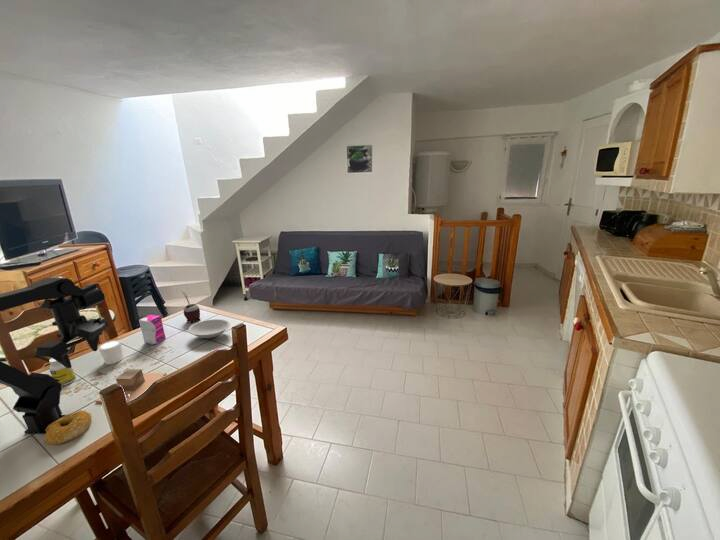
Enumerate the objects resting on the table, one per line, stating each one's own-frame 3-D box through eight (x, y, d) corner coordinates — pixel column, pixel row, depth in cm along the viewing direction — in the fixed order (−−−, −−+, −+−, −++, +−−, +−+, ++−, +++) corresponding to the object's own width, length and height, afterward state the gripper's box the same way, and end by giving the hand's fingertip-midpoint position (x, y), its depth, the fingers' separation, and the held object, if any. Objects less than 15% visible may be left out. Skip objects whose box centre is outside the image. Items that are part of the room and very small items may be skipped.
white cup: (113, 366, 115) (108, 350, 113) (98, 364, 116) (93, 348, 114) (129, 355, 121) (125, 340, 119) (115, 354, 122) (111, 339, 120)
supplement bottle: (51, 388, 103) (41, 364, 100) (61, 378, 108) (52, 355, 105) (70, 385, 105) (61, 361, 102) (79, 375, 110) (71, 352, 107)
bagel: (82, 412, 93) (77, 400, 91) (100, 425, 88) (95, 413, 86) (39, 437, 84) (33, 424, 83) (56, 453, 79) (50, 439, 78)
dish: (237, 329, 141) (235, 319, 139) (221, 345, 127) (219, 335, 126) (202, 327, 142) (200, 318, 141) (182, 344, 129) (180, 334, 127)
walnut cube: (134, 391, 100) (130, 378, 99) (119, 391, 100) (115, 378, 99) (145, 381, 105) (141, 369, 103) (131, 381, 105) (127, 369, 103)
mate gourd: (198, 323, 147) (192, 295, 142) (181, 324, 146) (174, 296, 141) (203, 316, 154) (198, 289, 149) (187, 317, 153) (181, 290, 148)
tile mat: (138, 403, 96) (137, 401, 96) (96, 402, 96) (95, 400, 96) (166, 374, 109) (165, 373, 109) (129, 374, 110) (128, 372, 109)
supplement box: (155, 345, 128) (148, 321, 125) (144, 343, 130) (137, 320, 126) (166, 338, 134) (160, 315, 130) (156, 336, 135) (150, 314, 131)
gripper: (63, 331, 83) (80, 378, 88) (116, 303, 101) (128, 343, 106) (24, 331, 84) (44, 377, 88) (84, 303, 101) (98, 343, 106)
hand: (82, 359), depth 97 cm, fingers open, 9 cm apart
